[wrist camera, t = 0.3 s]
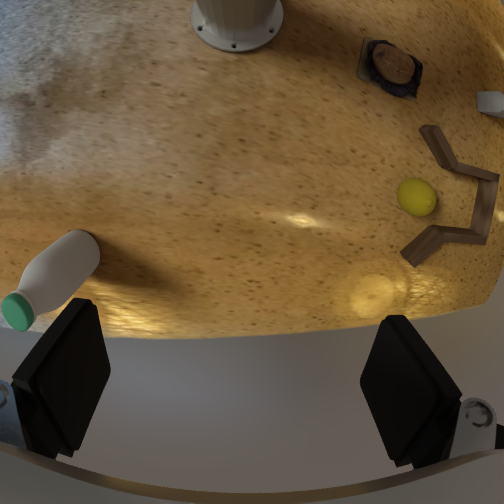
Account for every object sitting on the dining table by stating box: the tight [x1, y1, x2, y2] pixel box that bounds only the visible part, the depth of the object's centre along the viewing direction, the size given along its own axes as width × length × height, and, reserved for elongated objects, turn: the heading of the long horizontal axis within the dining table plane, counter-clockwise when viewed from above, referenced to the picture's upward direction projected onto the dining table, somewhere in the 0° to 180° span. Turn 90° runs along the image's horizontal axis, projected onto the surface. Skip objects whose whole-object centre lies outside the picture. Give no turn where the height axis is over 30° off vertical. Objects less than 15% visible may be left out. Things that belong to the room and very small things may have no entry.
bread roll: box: [357, 37, 423, 101], centre depth 34 cm, size 11×8×4 cm
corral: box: [400, 125, 500, 268], centre depth 41 cm, size 22×17×4 cm
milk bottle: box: [1, 230, 100, 332], centre depth 35 cm, size 8×8×20 cm
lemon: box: [397, 178, 437, 217], centre depth 39 cm, size 6×6×8 cm
